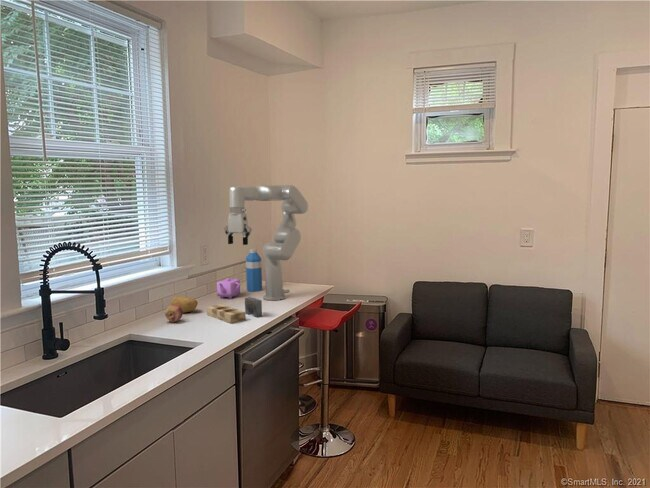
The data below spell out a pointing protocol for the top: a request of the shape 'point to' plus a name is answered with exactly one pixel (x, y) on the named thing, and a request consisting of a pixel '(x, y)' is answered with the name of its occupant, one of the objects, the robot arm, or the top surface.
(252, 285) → the water bottle
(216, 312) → the wooden block with holes
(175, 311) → the fruit
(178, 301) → the potato
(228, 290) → the teapot
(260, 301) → the gray pronged block
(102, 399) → the top surface
